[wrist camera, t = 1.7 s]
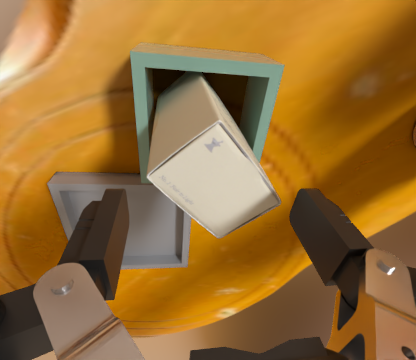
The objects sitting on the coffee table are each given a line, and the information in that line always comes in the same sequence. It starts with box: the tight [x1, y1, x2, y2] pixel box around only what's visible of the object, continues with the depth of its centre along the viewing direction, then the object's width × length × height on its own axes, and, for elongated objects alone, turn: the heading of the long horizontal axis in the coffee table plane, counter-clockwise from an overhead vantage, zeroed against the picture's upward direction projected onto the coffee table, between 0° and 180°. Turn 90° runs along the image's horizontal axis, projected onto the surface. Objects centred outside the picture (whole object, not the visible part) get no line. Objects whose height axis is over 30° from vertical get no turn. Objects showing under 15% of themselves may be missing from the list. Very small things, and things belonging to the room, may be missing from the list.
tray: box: [47, 172, 191, 269], centre depth 27 cm, size 14×14×2 cm
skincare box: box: [146, 71, 281, 238], centre depth 16 cm, size 6×4×12 cm
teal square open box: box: [130, 43, 284, 183], centre depth 19 cm, size 10×10×5 cm
